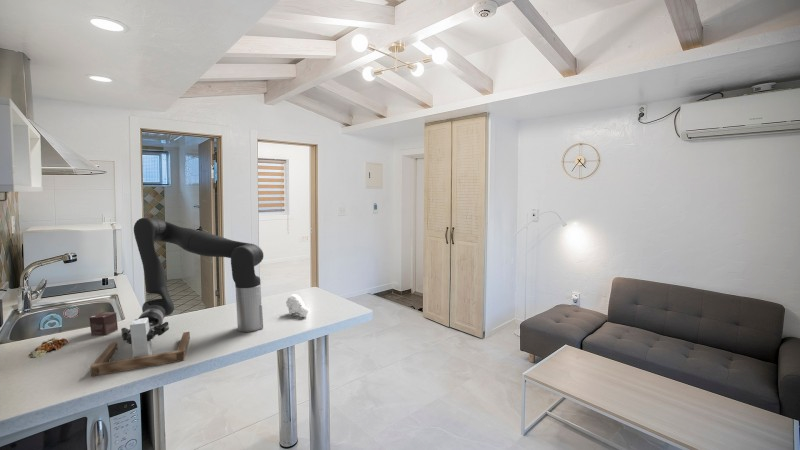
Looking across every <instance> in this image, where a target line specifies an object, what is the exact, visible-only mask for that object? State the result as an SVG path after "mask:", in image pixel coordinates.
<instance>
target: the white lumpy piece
mask: <svg viewBox="0 0 800 450" xmlns="http://www.w3.org/2000/svg"><path fill="white" fill-rule="evenodd" d="M285 303H286V307H287V309H288V315H289V316H292V315H293V313H297V314H298V316H299V317H300V318H306V317H307V315H308V313H309V309H308V307H306V304H305V303H304V301H303V299H302V297H301V296H299V295H298V294H297V293H296V294H295V293H294V294H290V295H289V296H288V297H287V300H286V302H285Z"/></svg>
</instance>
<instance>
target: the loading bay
mask: <svg viewBox="0 0 800 450" xmlns="http://www.w3.org/2000/svg"><path fill="white" fill-rule="evenodd" d="M190 338H191V333H190V331H185V332H182V336H181V339H180V340H179V341H180V342H179V344H178V347H177V350H172V351H167V352H160V353H154V354H153V353H152V354H151V355H147V356H141V357H135V358H133V357H129V358H123V359H118V360H111V359H113V357H114V356H115V354H116V352H118V350H119V344H118V342H117V341H116V342H110V343H109V344H108V345H107V347H106V348H105V349H104V350H103V352H102V353H101V354H100V355H99V357H98V358H97V359H96V361H94V363H93V364H91V365H90V373H91V374H90V375H91V377H95V376H99V375H100V376H101V375H106V374H111V373H112V374H113V373H117V372H118V373H119V372H124V371H130V370H134V369H141V368H142V369H143V368H145V367H147V368H148V367H152V366H158V365H159V366H160V365H164V364H170V363H176V362H182V361H185V358H186V353H187V350H188V346H189V344H190V343H189V342H190V341H191V340H190Z"/></svg>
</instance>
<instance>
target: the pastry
mask: <svg viewBox="0 0 800 450" xmlns="http://www.w3.org/2000/svg"><path fill="white" fill-rule="evenodd" d="M65 343H66V344H68V343H69V340H68V339H66V338H65V337H64V338H61V339H60V338H58V337H52V338H50V339H48V340H45V341H43V342H41V345H38V346H37V347H36V348H35V349H34V351H32V352H30V353H28V358H29V359H30V358H34V357H35V358H39V357H42V356H45V355H46V354H47V352H49V351H52V350H53V349H55V350H56V351H59V349H62V348H63V347H64V344H65Z"/></svg>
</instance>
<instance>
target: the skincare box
mask: <svg viewBox="0 0 800 450" xmlns="http://www.w3.org/2000/svg"><path fill="white" fill-rule="evenodd" d="M129 329H130V331H131V340H132V344H131V348H132V358H135V357H141V356H147V355H153V347H152V339H151V340H150V341H147V334H148V332H149V331H150V328H149V320H148V318H141V319H138V318H135V319H133V320H132V322H130V324H129Z"/></svg>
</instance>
